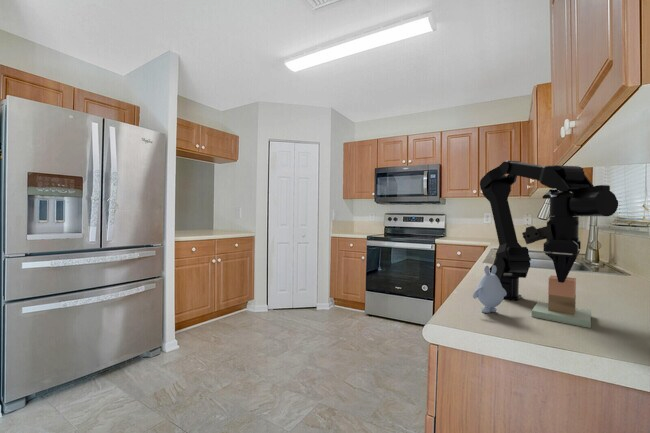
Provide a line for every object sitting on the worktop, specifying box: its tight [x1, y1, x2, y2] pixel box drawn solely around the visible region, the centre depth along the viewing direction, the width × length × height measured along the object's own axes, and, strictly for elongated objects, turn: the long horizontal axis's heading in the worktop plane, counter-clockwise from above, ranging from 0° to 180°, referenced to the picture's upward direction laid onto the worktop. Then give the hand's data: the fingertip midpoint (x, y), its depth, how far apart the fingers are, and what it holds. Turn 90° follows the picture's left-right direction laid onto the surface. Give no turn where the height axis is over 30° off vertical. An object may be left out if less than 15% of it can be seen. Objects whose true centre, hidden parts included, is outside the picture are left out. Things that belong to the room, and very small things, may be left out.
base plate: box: [531, 301, 592, 329], centre depth 76 cm, size 11×11×2 cm
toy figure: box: [472, 264, 507, 314], centre depth 79 cm, size 11×6×12 cm, turn 108°
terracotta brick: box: [547, 275, 577, 298], centre depth 76 cm, size 5×5×4 cm
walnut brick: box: [547, 294, 577, 315], centre depth 76 cm, size 5×5×4 cm
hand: (562, 279), depth 76 cm, fingers open, 9 cm apart
